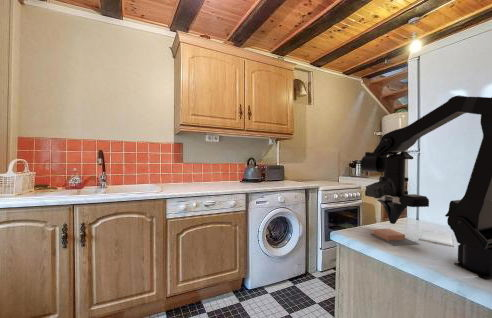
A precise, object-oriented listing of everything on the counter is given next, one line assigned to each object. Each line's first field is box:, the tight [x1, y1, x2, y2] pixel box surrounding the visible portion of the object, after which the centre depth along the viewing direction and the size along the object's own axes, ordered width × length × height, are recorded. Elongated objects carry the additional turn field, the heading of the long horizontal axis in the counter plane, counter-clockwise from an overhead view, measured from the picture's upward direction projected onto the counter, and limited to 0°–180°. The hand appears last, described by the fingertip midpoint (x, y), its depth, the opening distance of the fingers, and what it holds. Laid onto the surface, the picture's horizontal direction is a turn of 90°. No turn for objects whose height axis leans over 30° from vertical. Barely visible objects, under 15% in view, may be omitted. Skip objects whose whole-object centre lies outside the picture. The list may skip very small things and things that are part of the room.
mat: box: [369, 233, 421, 247], centre depth 72 cm, size 10×9×1 cm
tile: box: [373, 228, 406, 241], centre depth 73 cm, size 2×6×6 cm
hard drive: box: [418, 228, 455, 248], centre depth 73 cm, size 2×8×12 cm
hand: (392, 223), depth 72 cm, fingers closed
